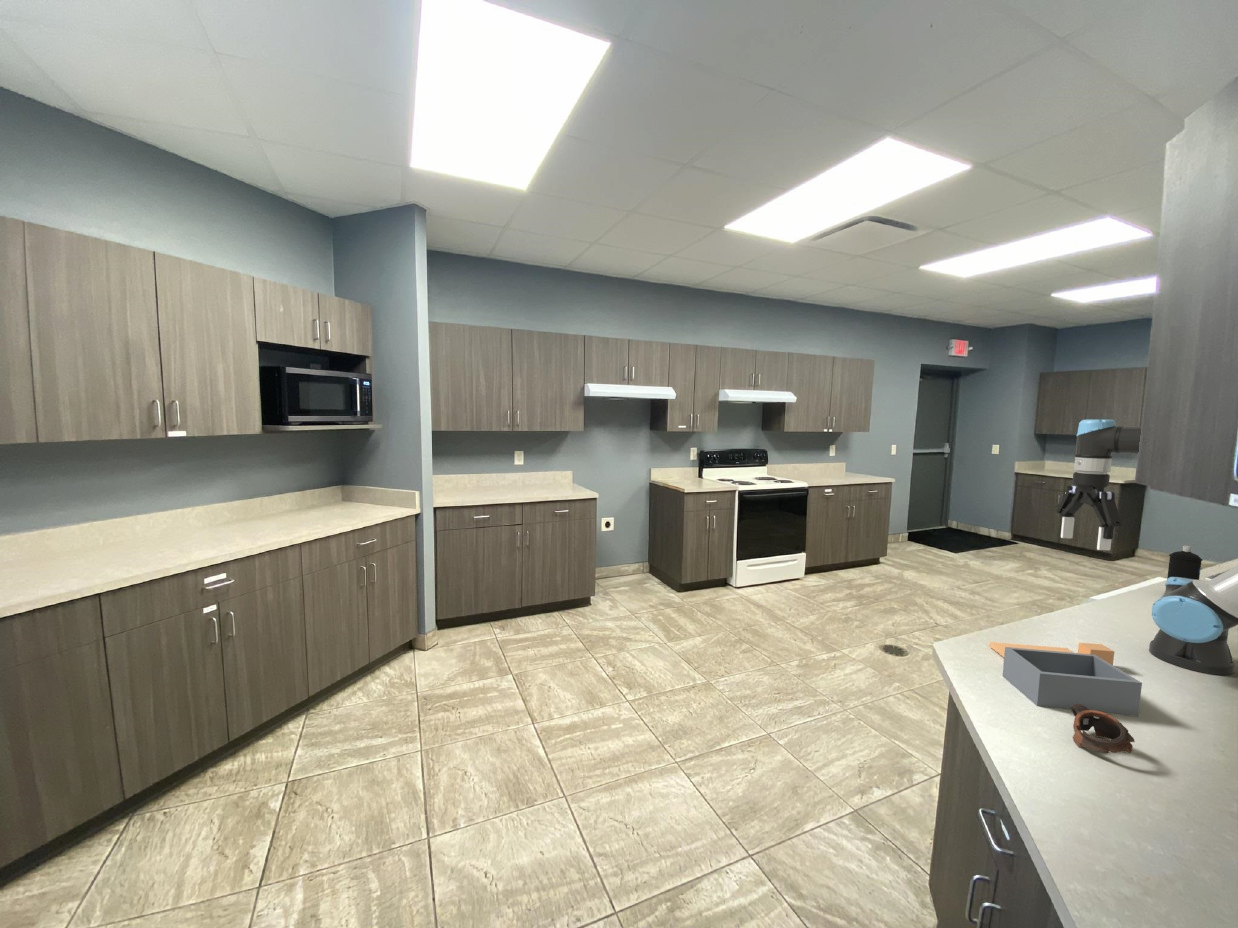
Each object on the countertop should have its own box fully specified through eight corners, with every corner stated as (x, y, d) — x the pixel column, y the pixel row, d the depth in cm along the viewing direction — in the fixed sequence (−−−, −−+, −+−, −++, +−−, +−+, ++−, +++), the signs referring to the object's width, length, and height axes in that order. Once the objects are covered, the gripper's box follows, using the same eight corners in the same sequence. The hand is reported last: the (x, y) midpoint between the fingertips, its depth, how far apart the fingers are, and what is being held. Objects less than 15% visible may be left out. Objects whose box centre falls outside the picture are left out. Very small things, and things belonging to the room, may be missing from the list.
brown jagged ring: (1152, 765, 91) (1147, 737, 89) (1101, 780, 93) (1095, 753, 90) (1093, 713, 102) (1088, 687, 100) (1049, 727, 104) (1042, 702, 101)
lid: (1086, 656, 133) (1088, 636, 133) (1127, 681, 120) (1129, 659, 120) (988, 648, 137) (990, 629, 137) (1018, 671, 125) (1020, 651, 124)
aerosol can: (1178, 600, 175) (1185, 548, 174) (1157, 592, 183) (1163, 542, 182) (1204, 602, 174) (1211, 549, 172) (1182, 593, 182) (1188, 544, 180)
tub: (1091, 684, 118) (1094, 654, 117) (1138, 716, 105) (1142, 682, 105) (1002, 676, 122) (1005, 646, 121) (1036, 705, 109) (1040, 673, 108)
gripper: (1045, 467, 149) (1039, 533, 151) (1113, 477, 124) (1105, 554, 126) (1072, 468, 147) (1066, 534, 149) (1146, 477, 123) (1137, 556, 125)
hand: (1084, 543), depth 138 cm, fingers open, 13 cm apart
